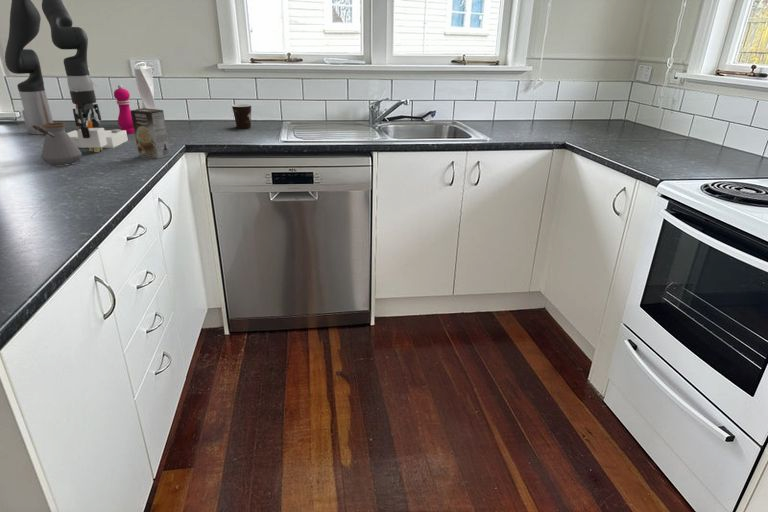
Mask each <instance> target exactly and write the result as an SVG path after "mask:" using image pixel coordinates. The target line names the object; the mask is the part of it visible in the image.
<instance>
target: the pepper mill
mask: <svg viewBox="0 0 768 512" xmlns="http://www.w3.org/2000/svg"><path fill="white" fill-rule="evenodd" d="M123 87H124V86H123V85H122V84H118V85H117V89H115V90H114V91H113V96H114V97H113V98H115V99H116V105H118V110H119V112H118V113H119V114H118V118H117V124H118V126H119V127H120V130H126V133H127V135H131V134H132V135H133V134H135V132H134V127H133V122H132V116H131V110H132V109H131V108H130V104H131V102H130V100H129V99H130V97H131V96H130V95H131V94H130V92H129V91H128V89H126V88H123Z"/></svg>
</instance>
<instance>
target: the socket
mask: <svg viewBox="0 0 768 512" xmlns="http://www.w3.org/2000/svg"><path fill="white" fill-rule="evenodd" d="M77 130H78V129H77ZM77 130H71V131H69V132H66V133H67V134H68V135H69V137H70V138H71V139H72V141H73V142H74V143H75V145H76V146H77V148H78V149H79V148H81V149H89V147H81V146H80V142H79V141H74V140H73V137H78V134H77ZM104 131H105V136H106V140H107V145H105V146H102V149H105V148H107V149H108V148H109V149H110V148H111V149H112V148H113V149H114V148H116V147H118V146H120V145H122V144H123V143H124V144H125V143H127V142H128V141H129V139H128V138H129V137H128V134H127V133H126V130H121V128H120V129H118V128H115V129H112V130H110V129H109V130H106V129H104Z"/></svg>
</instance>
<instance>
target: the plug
mask: <svg viewBox="0 0 768 512" xmlns="http://www.w3.org/2000/svg"><path fill="white" fill-rule="evenodd" d="M88 129H89V134H90V138H83V135H82V131H81V129H80V130H79V129H77V134H78V137H73V140H74V141H79V142H80V146H81V147H89V148H88V151H89V152H90V151H92V152H94V153H100V150H101V152H102V151H103V148H102V146H105V145H107V140H106V136H105V131H104V130H105V128H104V127H100V128H88Z"/></svg>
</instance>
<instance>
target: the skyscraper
mask: <svg viewBox="0 0 768 512" xmlns="http://www.w3.org/2000/svg"><path fill="white" fill-rule="evenodd" d="M141 64H144V65H141ZM138 65H140V66H138ZM137 66H138V67H137ZM133 70H134V77H135V81H136V87H137V89H138V93H139V96H140V98H141V106H142V107H140V103H139V100H138V98H137V99H136V102H137V103H136V104H137V109H141V108H148V109H157V105H156V102H155V98H154V97H155V95H154V94H155V91H154V89H155V86H154V78H153V71H152V67H151V66H147V62H146V61H145V62H144V61H141V62H137V63H135V65H134V67H133ZM157 110H158V109H157Z"/></svg>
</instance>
